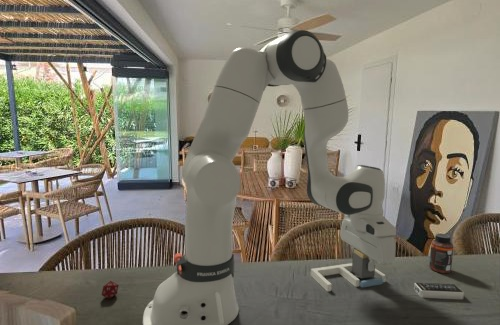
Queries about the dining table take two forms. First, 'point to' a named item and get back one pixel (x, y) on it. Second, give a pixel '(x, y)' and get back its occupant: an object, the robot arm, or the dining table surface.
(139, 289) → the dining table surface
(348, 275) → the white e-shaped frame
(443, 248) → the supplement bottle
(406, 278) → the dining table surface
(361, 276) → the grey tan-topped block
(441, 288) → the multiport hub
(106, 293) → the dice
